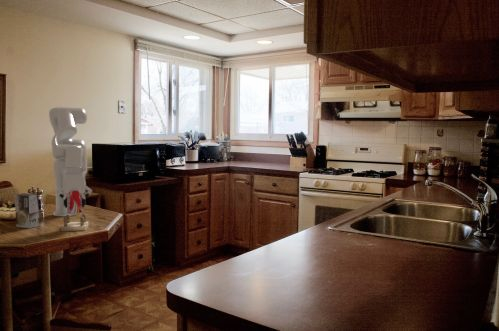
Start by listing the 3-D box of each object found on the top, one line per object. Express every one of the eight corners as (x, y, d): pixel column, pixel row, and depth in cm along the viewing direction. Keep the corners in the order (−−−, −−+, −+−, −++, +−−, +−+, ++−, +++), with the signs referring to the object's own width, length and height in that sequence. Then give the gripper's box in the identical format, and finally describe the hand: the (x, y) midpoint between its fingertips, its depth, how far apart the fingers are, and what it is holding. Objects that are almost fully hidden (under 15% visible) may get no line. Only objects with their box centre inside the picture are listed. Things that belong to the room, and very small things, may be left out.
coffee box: (40, 225, 209) (39, 193, 207) (29, 228, 203) (28, 195, 201) (26, 224, 212) (25, 192, 210) (15, 226, 206) (14, 194, 204)
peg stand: (65, 225, 209) (64, 214, 209) (88, 225, 212) (88, 213, 211) (61, 231, 199) (60, 218, 198) (85, 230, 201) (85, 217, 201)
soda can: (79, 215, 201) (78, 190, 200) (64, 214, 201) (63, 190, 200) (85, 212, 208) (84, 188, 207) (71, 212, 208) (70, 188, 207)
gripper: (93, 170, 209) (94, 205, 210) (56, 170, 204) (57, 206, 206) (92, 171, 201) (92, 207, 203) (53, 171, 197) (54, 209, 198)
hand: (74, 206), depth 204 cm, fingers closed on soda can, 7 cm apart
